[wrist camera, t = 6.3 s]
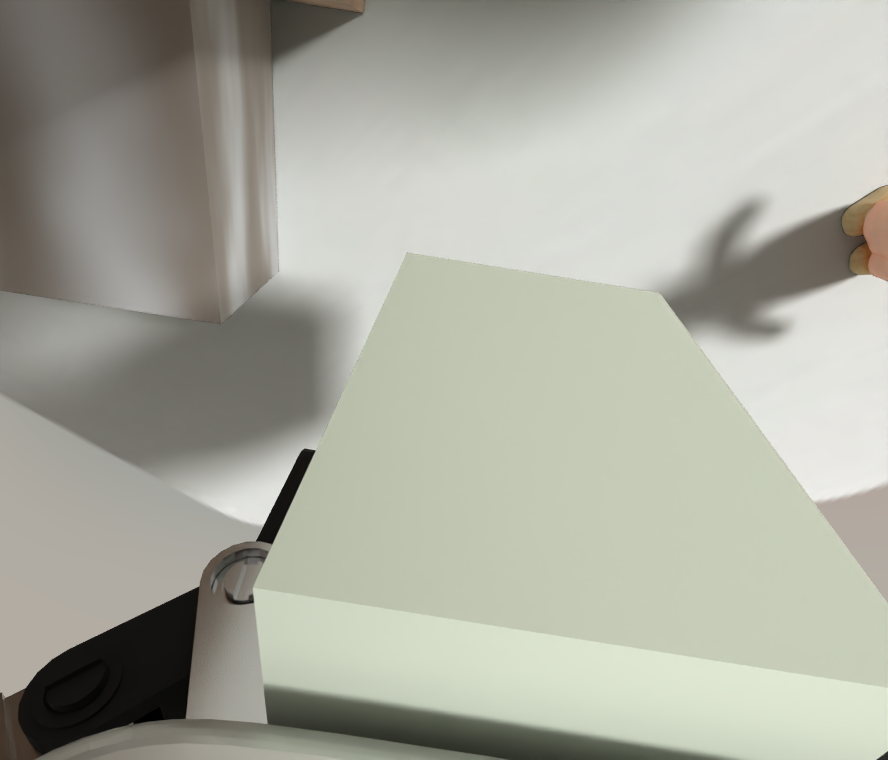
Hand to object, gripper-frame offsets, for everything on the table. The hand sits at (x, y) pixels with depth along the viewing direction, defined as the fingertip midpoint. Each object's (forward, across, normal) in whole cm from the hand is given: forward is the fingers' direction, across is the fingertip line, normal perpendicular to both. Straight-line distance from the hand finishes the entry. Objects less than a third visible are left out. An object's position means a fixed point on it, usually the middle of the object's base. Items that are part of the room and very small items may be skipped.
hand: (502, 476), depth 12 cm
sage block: (+3, 0, 0) cm, 3 cm away
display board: (+17, +19, -4) cm, 26 cm away
